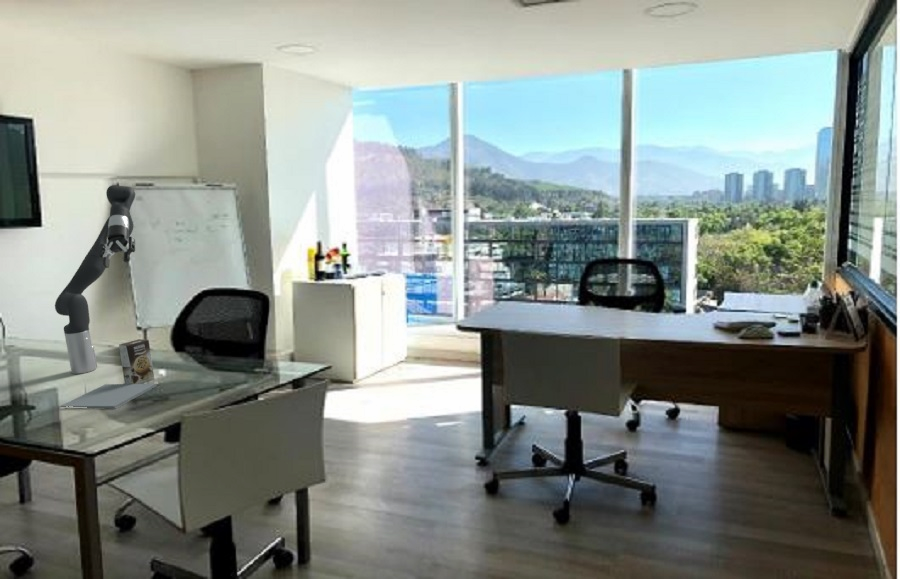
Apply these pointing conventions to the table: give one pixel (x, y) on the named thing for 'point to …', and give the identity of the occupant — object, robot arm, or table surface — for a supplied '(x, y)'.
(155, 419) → the table surface
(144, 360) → the coffee box
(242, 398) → the table surface
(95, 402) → the mat
